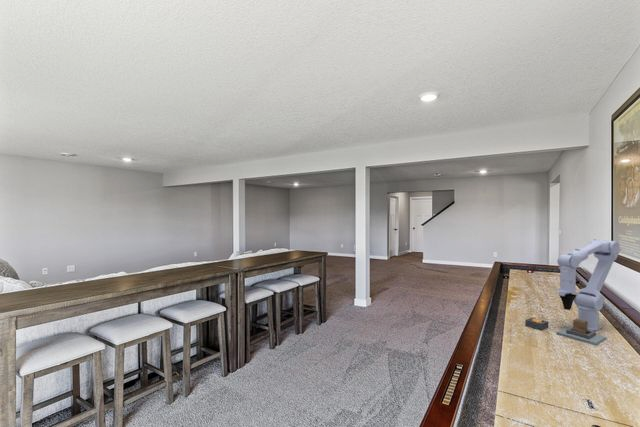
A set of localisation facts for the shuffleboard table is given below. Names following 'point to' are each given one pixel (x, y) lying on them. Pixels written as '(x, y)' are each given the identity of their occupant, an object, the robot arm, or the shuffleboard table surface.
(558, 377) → the shuffleboard table surface
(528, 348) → the shuffleboard table surface
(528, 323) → the control box
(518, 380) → the shuffleboard table surface
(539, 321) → the button
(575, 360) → the shuffleboard table surface
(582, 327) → the block
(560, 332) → the board
